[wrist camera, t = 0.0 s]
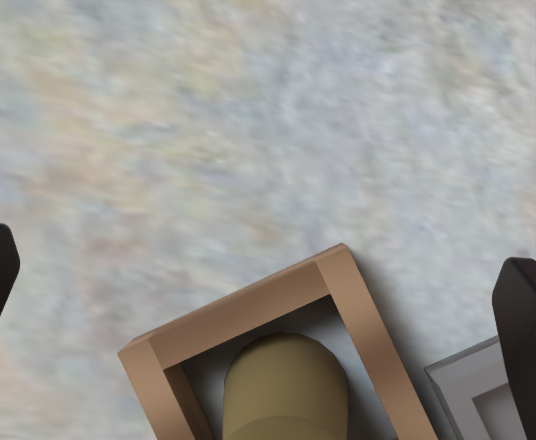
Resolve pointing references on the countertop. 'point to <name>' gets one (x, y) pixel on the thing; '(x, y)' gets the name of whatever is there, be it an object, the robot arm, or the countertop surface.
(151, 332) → the pin holder
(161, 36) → the countertop surface
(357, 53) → the countertop surface
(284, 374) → the cork
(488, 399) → the tray
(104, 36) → the countertop surface
